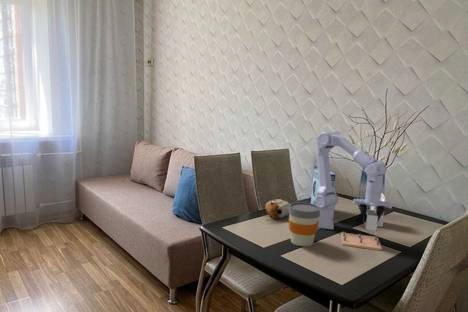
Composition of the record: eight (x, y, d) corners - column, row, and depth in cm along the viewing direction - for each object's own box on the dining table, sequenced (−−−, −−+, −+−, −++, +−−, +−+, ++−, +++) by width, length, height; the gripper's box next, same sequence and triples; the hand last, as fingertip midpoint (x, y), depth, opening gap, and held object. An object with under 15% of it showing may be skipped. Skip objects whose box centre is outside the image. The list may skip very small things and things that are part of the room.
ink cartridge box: (368, 219, 170) (371, 191, 168) (379, 220, 169) (382, 192, 167) (371, 226, 162) (375, 196, 159) (382, 227, 161) (386, 197, 158)
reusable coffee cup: (299, 250, 133) (302, 213, 130) (280, 238, 144) (282, 204, 141) (324, 245, 138) (327, 209, 136) (304, 233, 149) (306, 200, 147)
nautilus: (276, 227, 157) (250, 220, 167) (298, 213, 174) (273, 208, 183) (276, 210, 156) (249, 205, 165) (298, 198, 172) (273, 193, 182)
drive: (365, 229, 138) (367, 214, 137) (363, 222, 146) (365, 208, 145) (376, 230, 137) (378, 216, 136) (373, 223, 145) (375, 210, 144)
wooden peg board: (342, 245, 139) (342, 239, 139) (340, 234, 150) (341, 228, 150) (381, 250, 135) (382, 244, 135) (377, 238, 147) (377, 233, 146)
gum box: (310, 206, 188) (313, 165, 184) (319, 206, 188) (322, 166, 184) (321, 219, 169) (325, 173, 165) (332, 219, 169) (336, 174, 165)
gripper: (355, 191, 137) (352, 223, 139) (394, 195, 133) (391, 228, 136) (354, 187, 144) (351, 218, 146) (391, 190, 140) (387, 222, 142)
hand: (370, 222), depth 141 cm, fingers closed on drive, 4 cm apart
